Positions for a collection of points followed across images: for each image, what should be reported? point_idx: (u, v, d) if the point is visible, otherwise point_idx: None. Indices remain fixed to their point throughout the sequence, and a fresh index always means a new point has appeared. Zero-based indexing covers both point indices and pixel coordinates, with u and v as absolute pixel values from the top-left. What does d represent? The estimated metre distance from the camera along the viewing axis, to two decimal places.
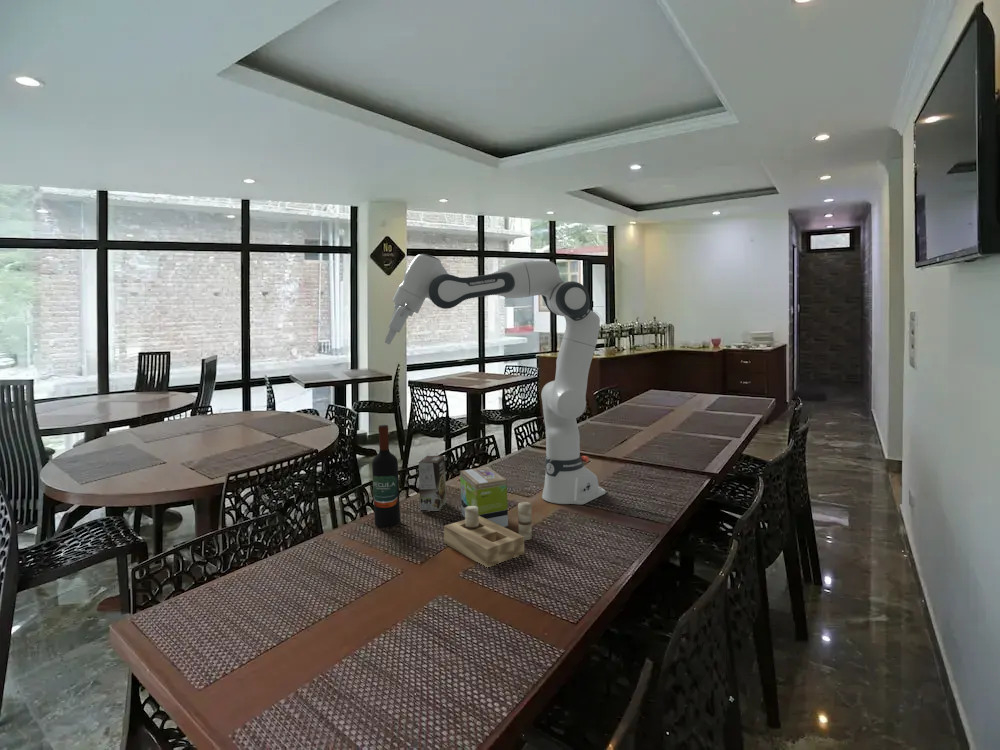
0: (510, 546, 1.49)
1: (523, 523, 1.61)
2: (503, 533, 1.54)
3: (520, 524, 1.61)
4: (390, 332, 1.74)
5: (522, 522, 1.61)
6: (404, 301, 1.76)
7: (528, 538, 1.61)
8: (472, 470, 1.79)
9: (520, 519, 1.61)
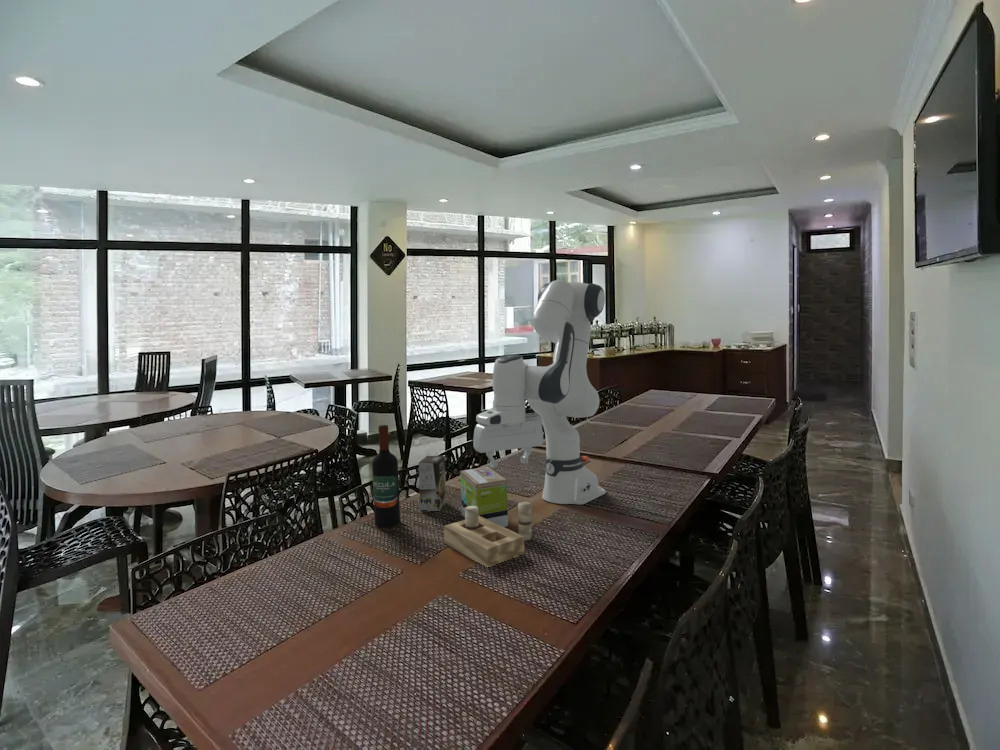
0: (510, 546, 1.49)
1: (523, 523, 1.61)
2: (503, 533, 1.54)
3: (520, 524, 1.61)
4: None
5: (522, 522, 1.61)
6: None
7: (528, 538, 1.61)
8: (472, 470, 1.79)
9: (520, 519, 1.61)
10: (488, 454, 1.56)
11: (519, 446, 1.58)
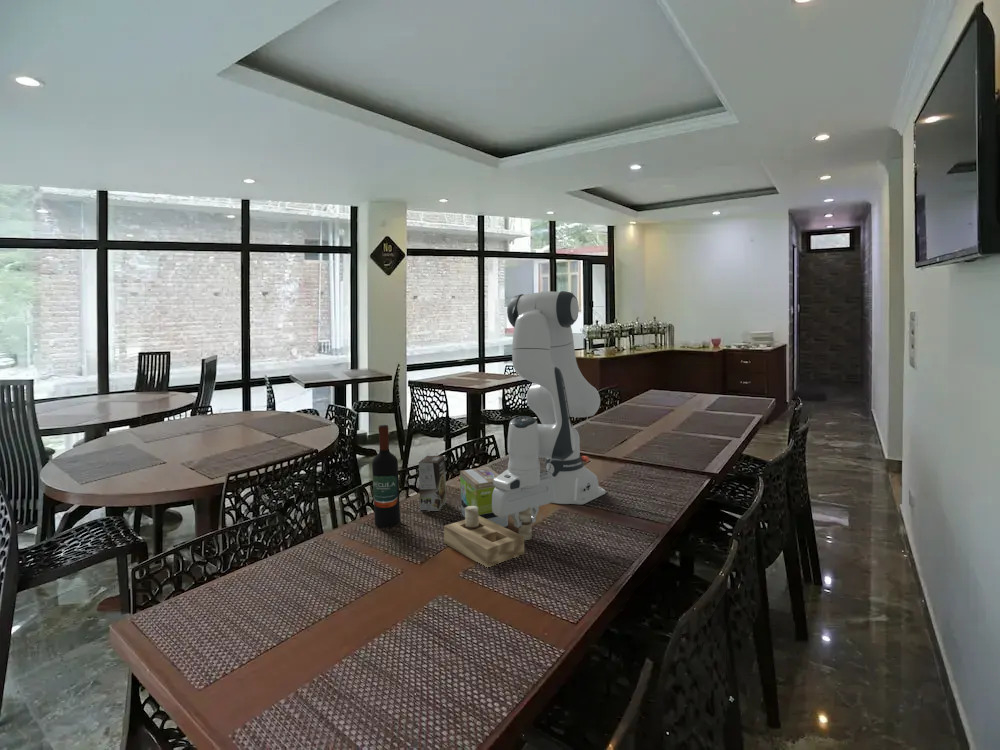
0: (510, 546, 1.49)
1: (523, 523, 1.61)
2: (503, 533, 1.54)
3: None
4: None
5: (522, 522, 1.61)
6: None
7: (528, 538, 1.61)
8: (472, 470, 1.79)
9: (520, 519, 1.61)
10: (513, 515, 1.59)
11: (534, 506, 1.62)
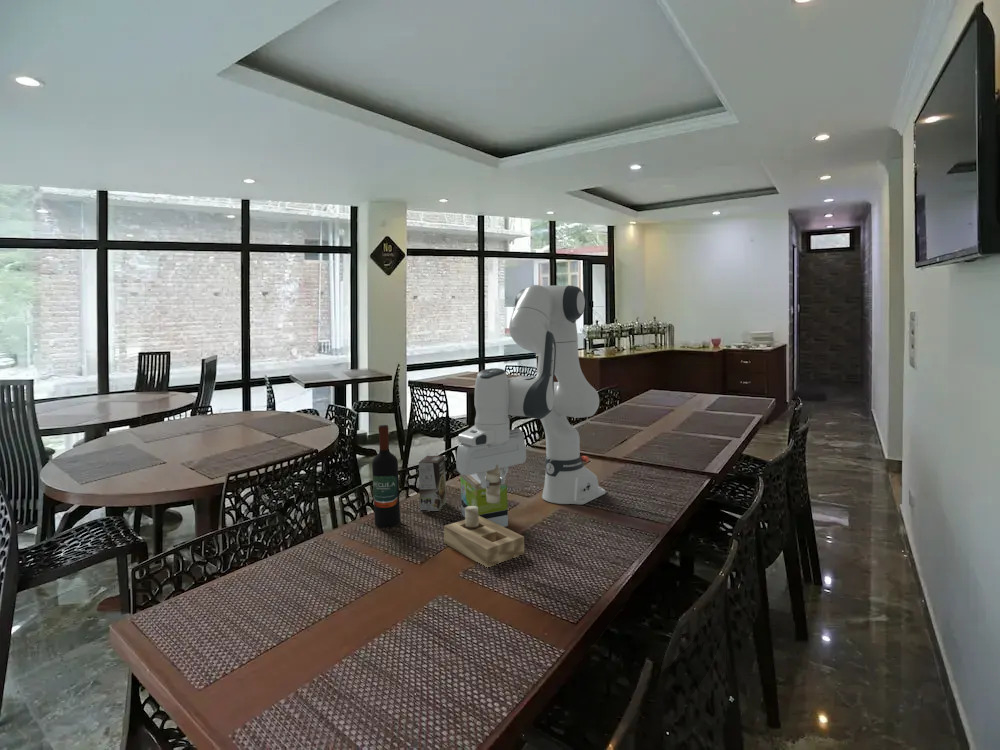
0: (510, 546, 1.49)
1: (491, 483, 1.48)
2: (503, 533, 1.54)
3: None
4: None
5: (490, 482, 1.48)
6: None
7: (496, 500, 1.49)
8: None
9: (488, 479, 1.49)
10: (479, 474, 1.47)
11: (503, 465, 1.50)
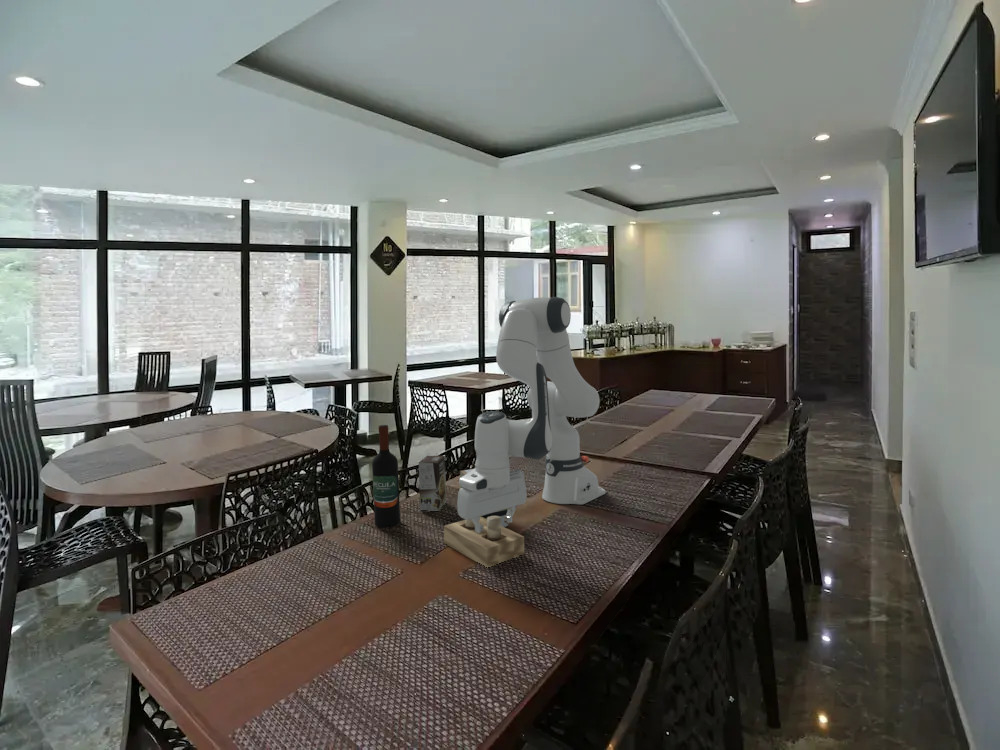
0: (510, 546, 1.49)
1: (492, 539, 1.50)
2: (503, 533, 1.54)
3: (489, 540, 1.51)
4: None
5: (491, 537, 1.50)
6: None
7: None
8: None
9: (489, 534, 1.51)
10: (473, 519, 1.47)
11: (504, 507, 1.51)
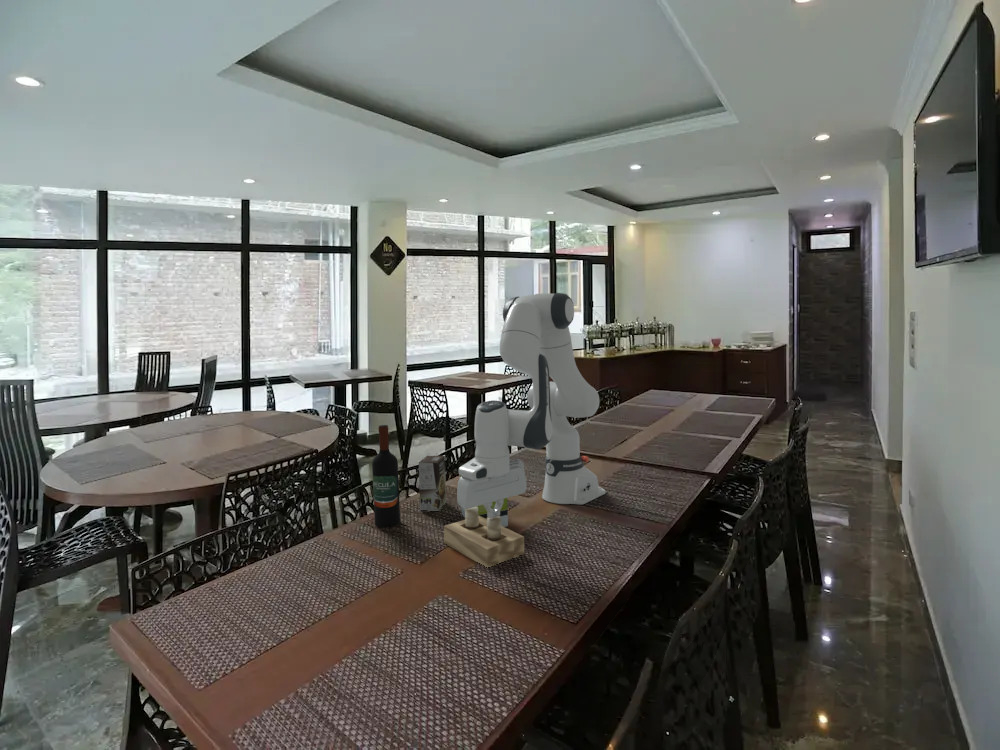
0: (510, 546, 1.49)
1: (492, 539, 1.50)
2: (503, 533, 1.54)
3: (489, 540, 1.51)
4: None
5: (491, 537, 1.50)
6: None
7: None
8: None
9: (489, 534, 1.51)
10: (486, 505, 1.49)
11: (504, 497, 1.51)
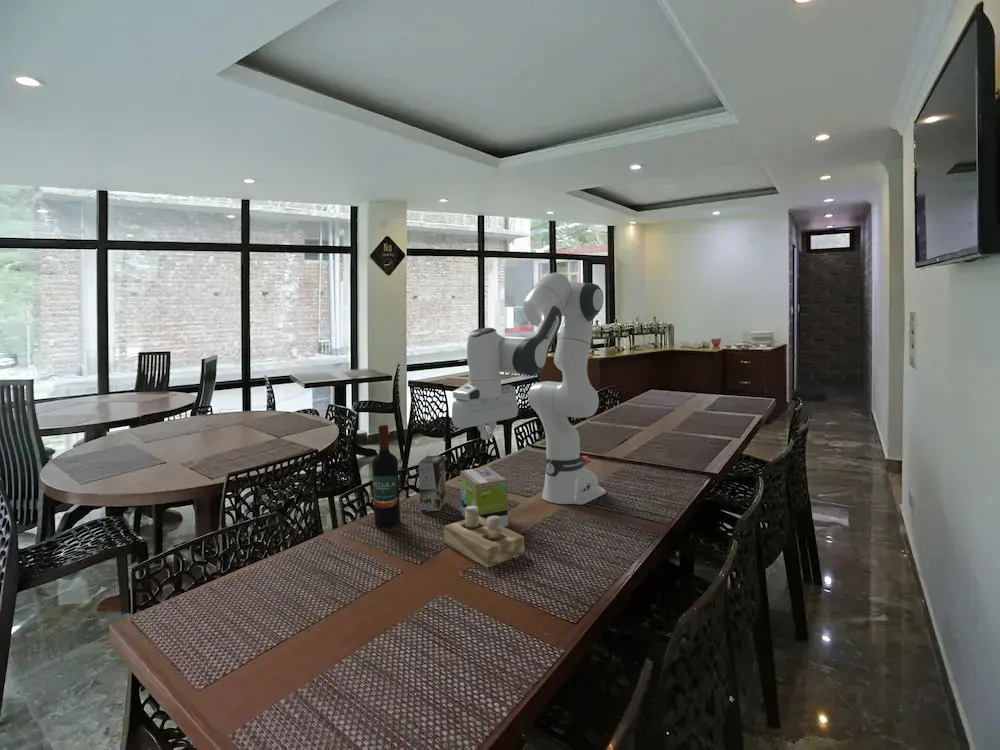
0: (510, 546, 1.49)
1: (492, 539, 1.50)
2: (503, 533, 1.54)
3: (489, 540, 1.51)
4: None
5: (491, 537, 1.50)
6: None
7: None
8: (472, 470, 1.79)
9: (489, 534, 1.51)
10: (480, 427, 1.57)
11: (496, 419, 1.59)
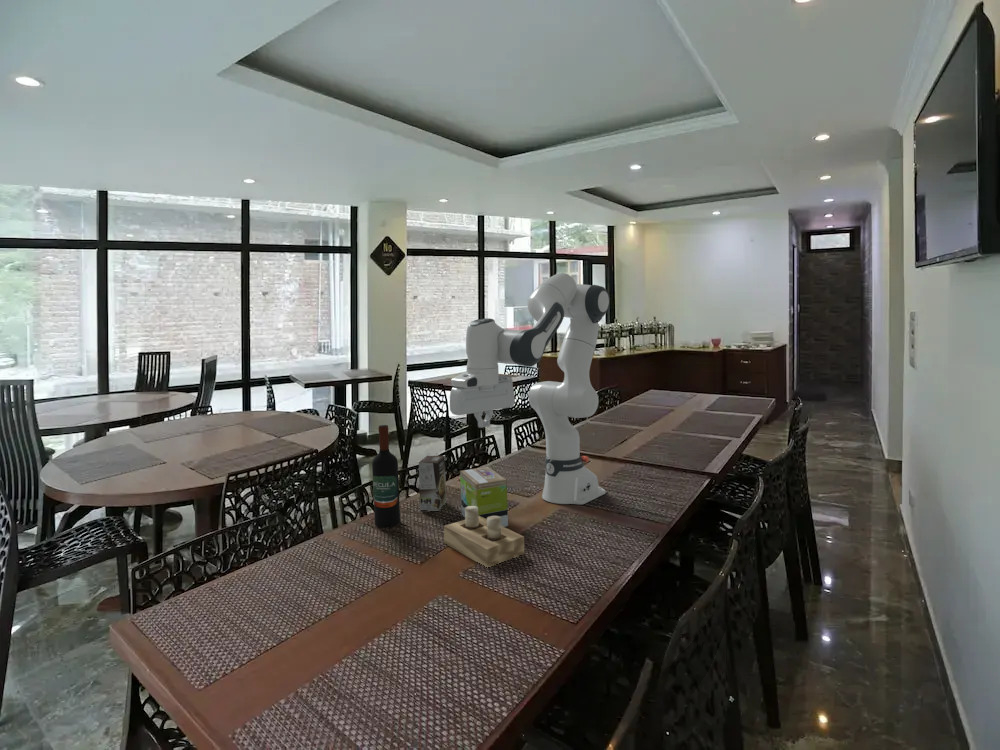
0: (510, 546, 1.49)
1: (492, 539, 1.50)
2: (503, 533, 1.54)
3: (489, 540, 1.51)
4: None
5: (491, 537, 1.50)
6: None
7: None
8: (472, 470, 1.79)
9: (489, 534, 1.51)
10: (476, 415, 1.61)
11: (493, 408, 1.62)
